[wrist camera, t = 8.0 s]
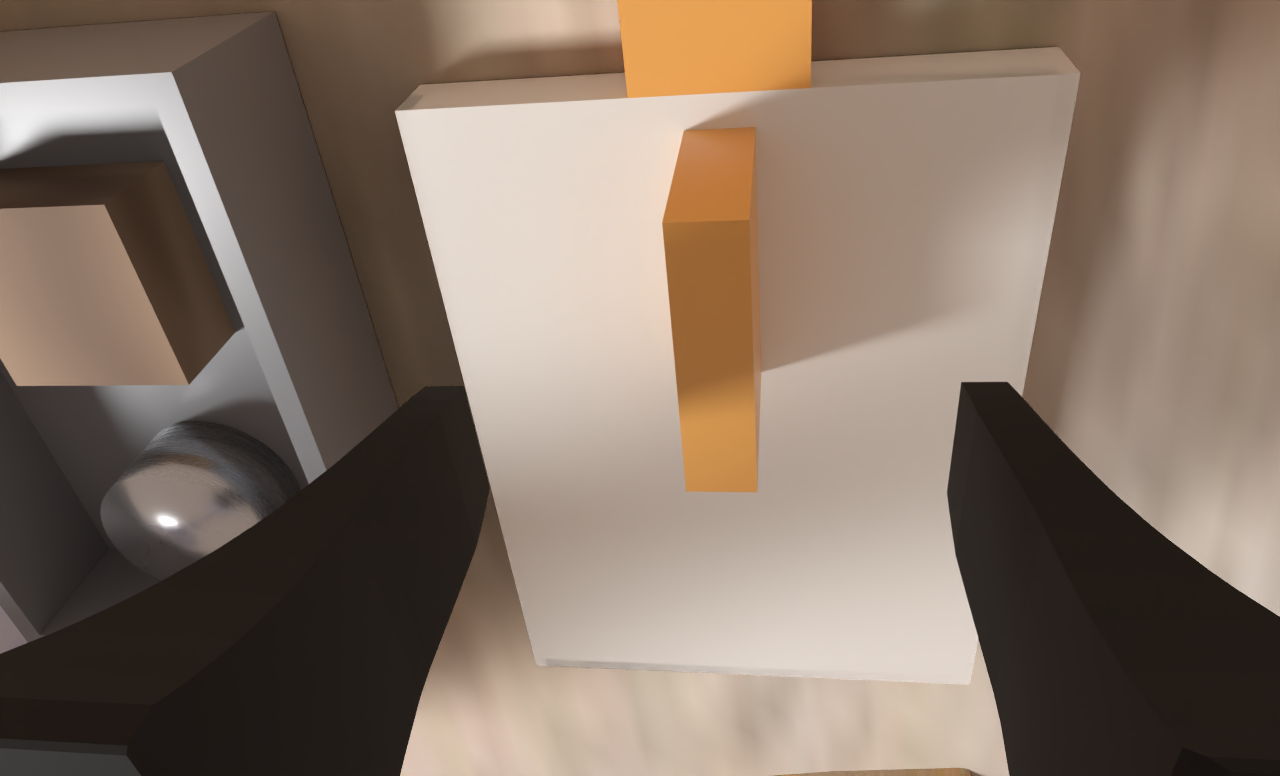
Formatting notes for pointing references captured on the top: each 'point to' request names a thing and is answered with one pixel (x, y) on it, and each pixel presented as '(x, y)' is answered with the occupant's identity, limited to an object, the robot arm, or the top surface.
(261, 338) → the tub
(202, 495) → the domed metal puck
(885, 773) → the sandwich container
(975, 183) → the lid
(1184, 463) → the top surface
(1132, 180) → the top surface
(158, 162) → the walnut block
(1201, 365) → the top surface
